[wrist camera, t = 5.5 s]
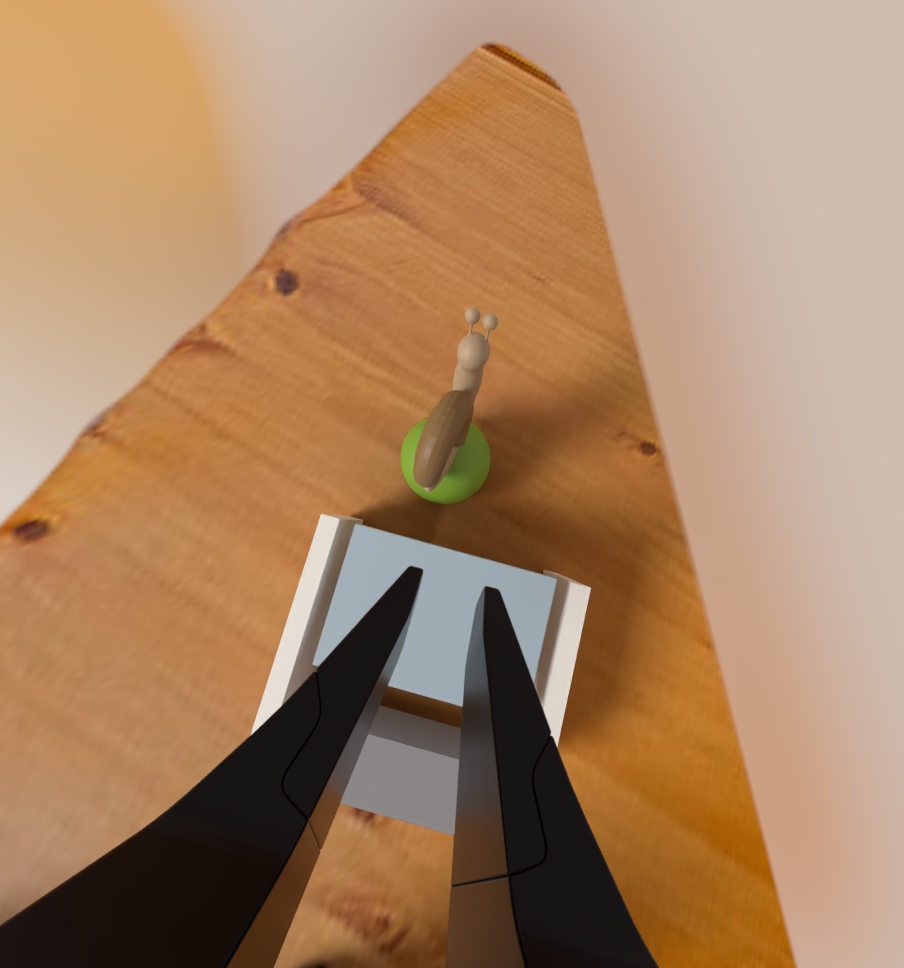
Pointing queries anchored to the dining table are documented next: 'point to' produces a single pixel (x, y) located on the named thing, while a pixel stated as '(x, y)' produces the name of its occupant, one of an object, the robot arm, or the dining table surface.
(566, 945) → the robot arm
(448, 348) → the dining table surface
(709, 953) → the dining table surface
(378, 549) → the trapdoor
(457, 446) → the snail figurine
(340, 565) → the frame
